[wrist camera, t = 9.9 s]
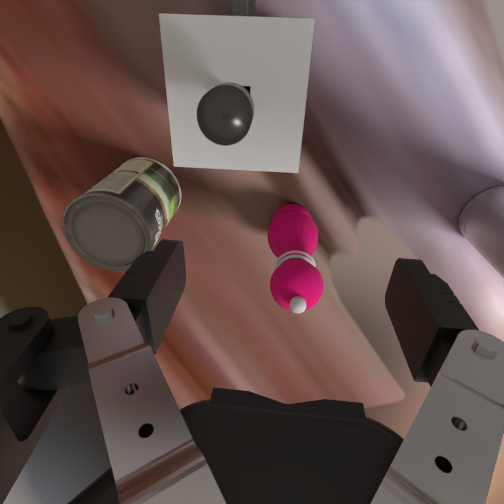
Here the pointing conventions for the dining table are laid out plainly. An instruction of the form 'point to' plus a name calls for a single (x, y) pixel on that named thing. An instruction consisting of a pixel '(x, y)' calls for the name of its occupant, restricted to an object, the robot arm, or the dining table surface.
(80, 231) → the coffee can
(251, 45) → the white cabinet
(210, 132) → the grey thin rod
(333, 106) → the dining table surface
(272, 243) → the pepper mill
